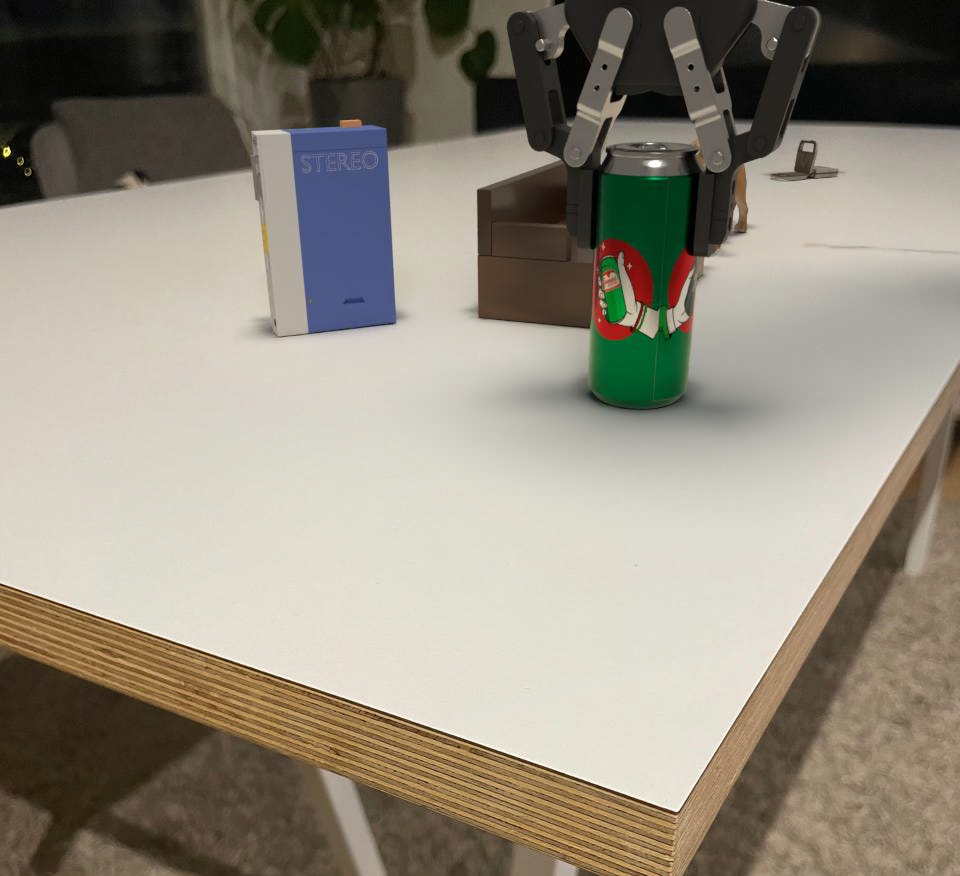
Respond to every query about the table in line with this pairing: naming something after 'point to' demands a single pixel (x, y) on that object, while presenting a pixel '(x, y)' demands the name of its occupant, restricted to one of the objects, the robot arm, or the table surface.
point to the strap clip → (806, 165)
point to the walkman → (325, 226)
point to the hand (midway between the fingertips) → (645, 248)
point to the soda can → (643, 273)
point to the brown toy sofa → (532, 252)
